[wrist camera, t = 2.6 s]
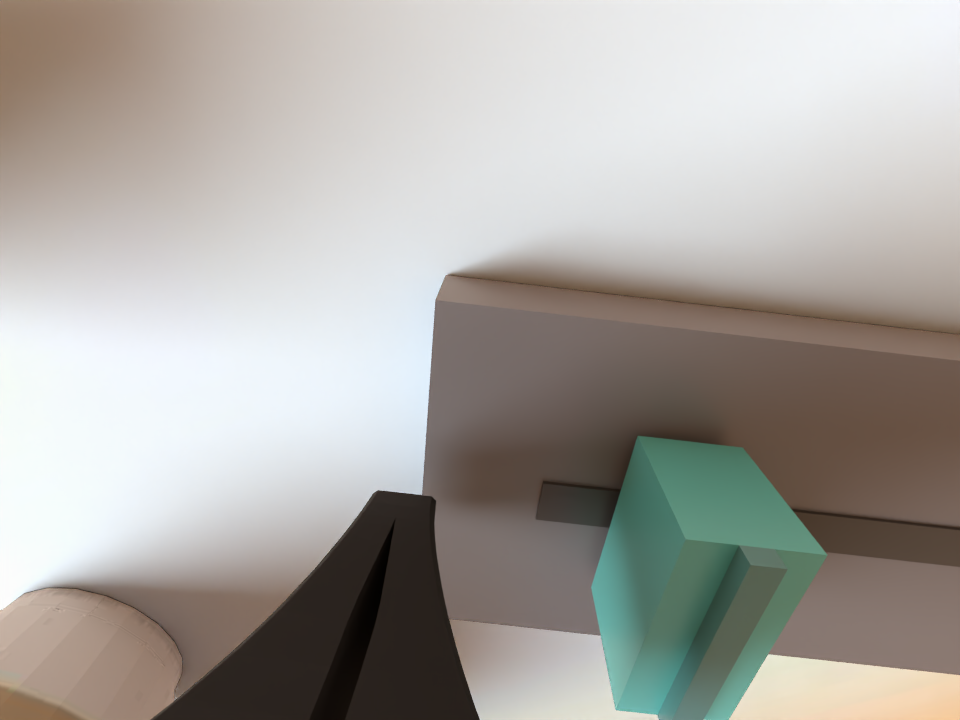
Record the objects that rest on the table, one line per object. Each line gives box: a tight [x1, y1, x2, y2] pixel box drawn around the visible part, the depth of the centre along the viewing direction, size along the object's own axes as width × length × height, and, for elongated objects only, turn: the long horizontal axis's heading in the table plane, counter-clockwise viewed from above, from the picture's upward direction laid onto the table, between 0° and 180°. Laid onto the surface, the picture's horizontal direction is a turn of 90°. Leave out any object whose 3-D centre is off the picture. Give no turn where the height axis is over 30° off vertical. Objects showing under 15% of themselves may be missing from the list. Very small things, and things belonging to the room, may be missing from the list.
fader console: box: [422, 275, 960, 675], centre depth 13 cm, size 10×24×2 cm, turn 84°
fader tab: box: [591, 436, 827, 720], centre depth 10 cm, size 5×2×3 cm, turn 174°
